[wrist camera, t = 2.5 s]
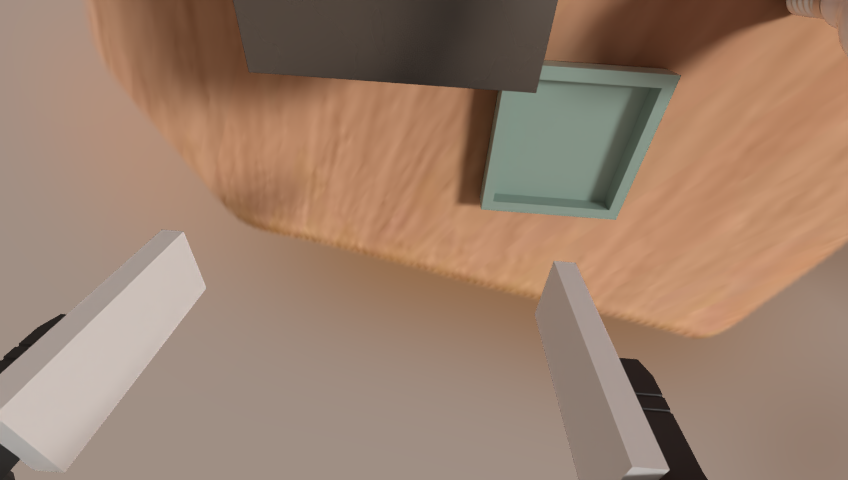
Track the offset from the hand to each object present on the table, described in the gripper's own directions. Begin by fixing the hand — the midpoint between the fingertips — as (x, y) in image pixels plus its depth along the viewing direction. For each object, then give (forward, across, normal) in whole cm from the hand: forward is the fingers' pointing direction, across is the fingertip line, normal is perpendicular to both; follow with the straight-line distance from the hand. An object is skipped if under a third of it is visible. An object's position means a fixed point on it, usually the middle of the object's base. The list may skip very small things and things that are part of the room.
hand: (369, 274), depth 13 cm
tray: (+16, +12, 0) cm, 20 cm away
